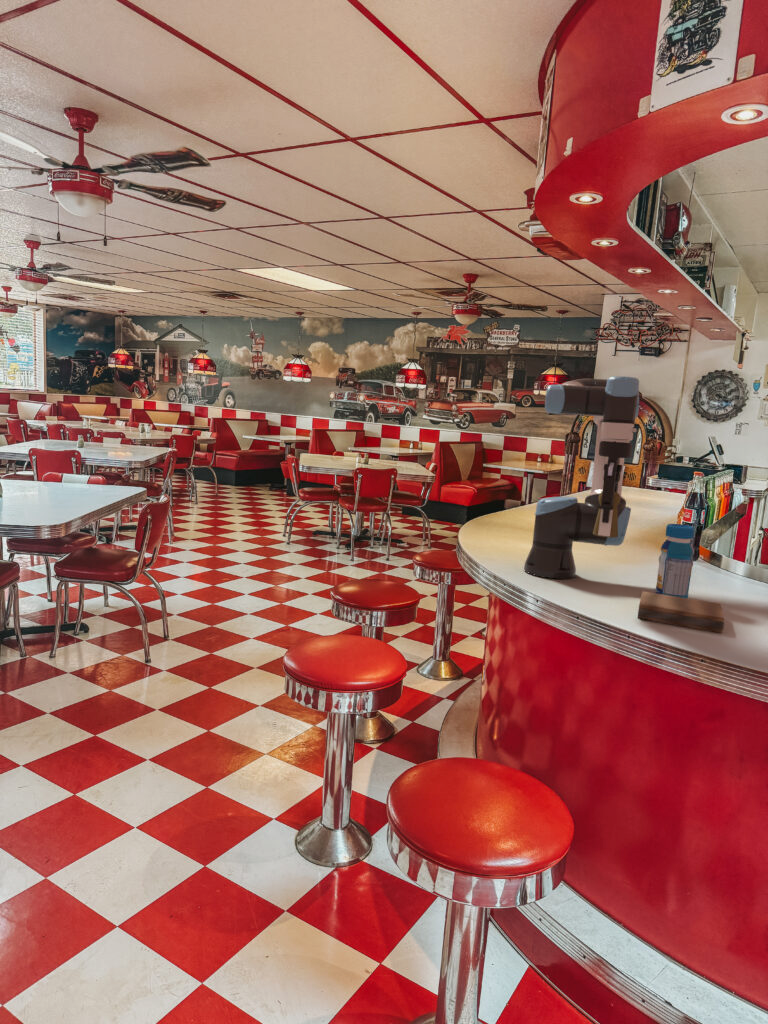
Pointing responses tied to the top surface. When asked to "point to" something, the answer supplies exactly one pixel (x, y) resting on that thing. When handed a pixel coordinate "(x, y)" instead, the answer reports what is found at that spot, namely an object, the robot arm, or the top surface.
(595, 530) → the cork
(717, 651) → the top surface
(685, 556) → the beverage bottle
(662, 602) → the wooden block
